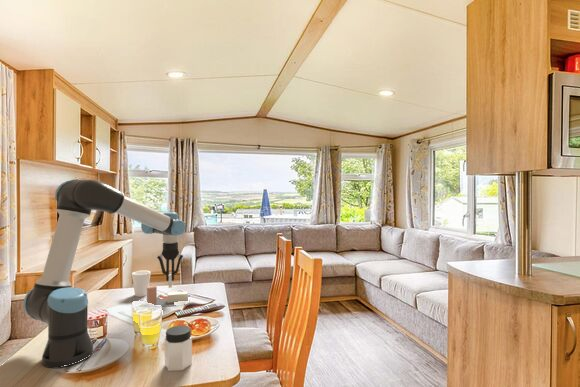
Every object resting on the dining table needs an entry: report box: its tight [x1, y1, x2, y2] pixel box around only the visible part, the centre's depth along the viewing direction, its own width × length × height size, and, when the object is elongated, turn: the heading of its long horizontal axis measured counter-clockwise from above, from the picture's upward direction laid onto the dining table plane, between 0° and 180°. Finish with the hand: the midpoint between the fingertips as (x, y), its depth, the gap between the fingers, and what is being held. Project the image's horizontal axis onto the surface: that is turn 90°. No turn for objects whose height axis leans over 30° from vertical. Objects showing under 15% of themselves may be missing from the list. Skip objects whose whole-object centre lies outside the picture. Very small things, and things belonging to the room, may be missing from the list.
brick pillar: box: [146, 284, 158, 305], centre depth 167 cm, size 4×4×10 cm
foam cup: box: [131, 269, 152, 298], centre depth 185 cm, size 10×9×13 cm
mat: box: [157, 294, 191, 308], centre depth 175 cm, size 16×22×1 cm
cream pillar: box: [166, 291, 189, 303], centre depth 176 cm, size 4×4×10 cm
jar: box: [164, 324, 193, 372], centre depth 114 cm, size 9×8×12 cm
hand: (170, 286), depth 175 cm, fingers closed
